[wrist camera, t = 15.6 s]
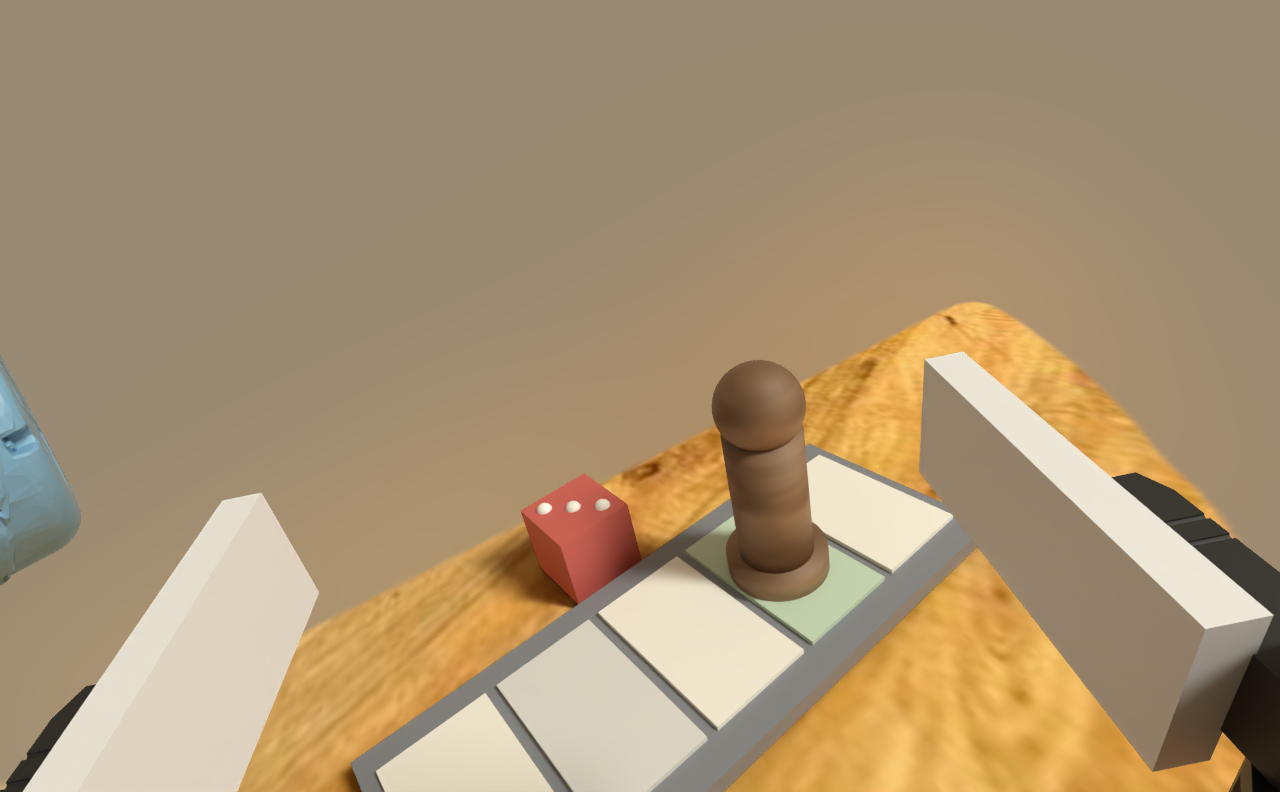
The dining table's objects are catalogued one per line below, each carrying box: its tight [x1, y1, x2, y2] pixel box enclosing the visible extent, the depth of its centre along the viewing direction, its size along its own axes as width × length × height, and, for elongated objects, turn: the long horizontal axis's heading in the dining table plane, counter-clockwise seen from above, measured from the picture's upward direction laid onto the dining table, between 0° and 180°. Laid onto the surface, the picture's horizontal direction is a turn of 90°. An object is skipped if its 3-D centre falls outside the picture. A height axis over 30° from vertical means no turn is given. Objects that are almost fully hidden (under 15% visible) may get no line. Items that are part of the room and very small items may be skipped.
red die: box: [521, 474, 641, 604], centre depth 39 cm, size 4×4×5 cm
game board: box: [351, 444, 977, 792], centre depth 33 cm, size 12×31×1 cm, turn 128°
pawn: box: [712, 360, 830, 602], centre depth 33 cm, size 5×5×12 cm
